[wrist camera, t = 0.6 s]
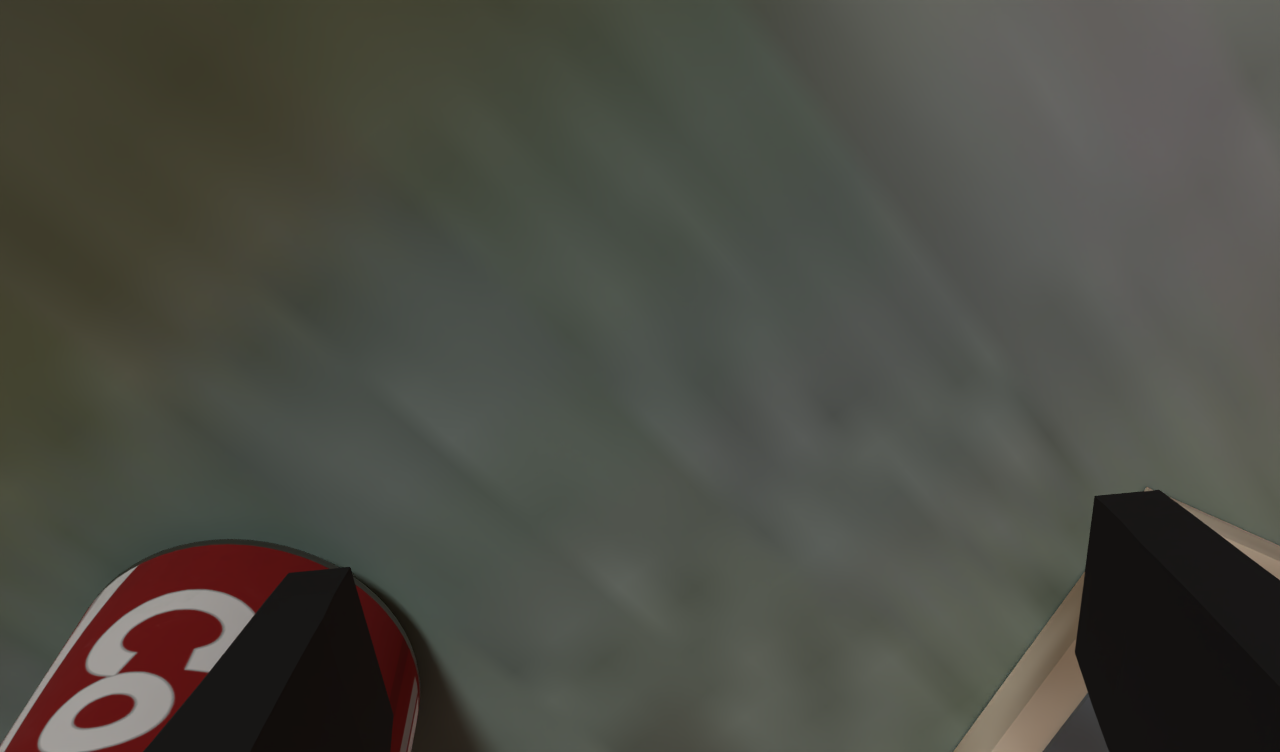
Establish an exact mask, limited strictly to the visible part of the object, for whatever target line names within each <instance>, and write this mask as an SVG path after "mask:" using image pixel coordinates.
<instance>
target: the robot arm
mask: <svg viewBox="0 0 1280 752" xmlns="http://www.w3.org/2000/svg"><path fill="white" fill-rule="evenodd" d="M1075 655H1076V658H1077V661H1078V664H1079V667H1080V670H1081V673H1082V676H1083V679H1084V682H1085V685H1086V688H1087V691H1088V694H1089V697H1090V700H1091V703H1092V706H1093V709H1094V712H1095V714H1096V717H1097V720H1098V723H1099V726H1100V728H1101V731H1102V734H1103V737H1104V739H1105V742H1106V745H1107V748H1108V750H1109V752H1280V580H1279V579H1278V578H1276V577H1275V576H1274V575H1272V574H1271V573H1270V572H1268V571H1267V570H1266V569H1264V568H1263V567H1262V566H1260V565H1259V564H1258V563H1256V562H1255V561H1254V560H1252V559H1251V558H1250V557H1248V556H1247V555H1246V554H1244V553H1243V552H1242V551H1240V550H1239V549H1238V548H1236V547H1235V546H1234V545H1232V544H1231V543H1230V542H1229V541H1227V540H1226V539H1225V538H1223V537H1222V536H1221V535H1219V534H1218V533H1217V532H1215V531H1214V530H1213V529H1211V528H1210V527H1209V526H1207V525H1206V524H1205V523H1203V522H1202V521H1201V520H1200V519H1198V518H1197V517H1196V516H1194V515H1193V514H1192V513H1190V512H1189V511H1188V510H1186V509H1185V508H1183V507H1182V506H1181V505H1179V504H1178V503H1177V502H1175V501H1174V500H1173V499H1171V498H1170V497H1168V496H1167V495H1166V494H1164V493H1163V492H1161V491H1160V490H1153V491H1143V492H1132V493H1122V494H1111V495H1101V496H1095V498H1094V506H1093V514H1092V521H1091V529H1090V537H1089V545H1088V552H1087V560H1086V568H1085V576H1084V584H1083V591H1082V599H1081V607H1080V615H1079V622H1078V630H1077V638H1076V646H1075ZM393 716H394V715H393V711H392V708H391V704H390V701H389V698H388V694H387V691H386V687H385V684H384V681H383V677H382V674H381V670H380V667H379V663H378V660H377V657H376V653H375V650H374V646H373V643H372V640H371V636H370V633H369V629H368V626H367V623H366V619H365V616H364V612H363V609H362V606H361V602H360V599H359V595H358V592H357V589H356V585H355V582H354V578H353V575H352V572H351V568H350V567H345V568H334V569H323V570H313V571H302V572H292V573H288V574H287V575H286V577H285V578H284V579H283V580H282V581H281V582H280V584H279V585H278V586H277V587H276V588H275V590H274V591H273V592H272V593H271V595H270V596H269V597H268V598H267V599H266V601H265V602H264V603H263V604H262V606H261V607H260V608H259V609H258V611H257V612H256V613H255V615H254V616H253V617H252V618H251V620H250V621H249V622H248V623H247V625H246V626H245V627H244V629H243V630H242V631H241V632H240V634H239V635H238V636H237V637H236V639H235V640H234V641H233V642H232V644H231V645H230V646H229V648H228V649H227V650H226V651H225V653H224V654H223V655H222V656H221V658H220V659H219V660H218V661H217V663H216V664H215V665H214V666H213V668H212V669H211V670H210V671H209V673H208V674H207V675H206V676H205V678H204V679H203V680H202V681H201V683H200V684H199V685H198V686H197V688H196V689H195V690H194V691H193V692H192V694H191V695H190V696H189V697H188V698H187V700H186V701H185V702H184V703H183V704H182V706H181V707H180V708H179V709H178V710H177V712H176V713H175V714H174V715H173V716H172V718H171V719H170V720H169V721H168V722H167V724H166V725H165V726H164V727H163V728H162V730H161V731H160V732H159V733H158V734H157V736H156V737H155V738H154V739H153V740H152V742H151V743H150V744H149V745H148V746H147V747H146V749H145V750H144V751H143V752H390V751H391V740H392V728H393Z"/></svg>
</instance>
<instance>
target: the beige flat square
mask: <svg viewBox="0 0 1280 752" xmlns="http://www.w3.org/2000/svg"><path fill="white" fill-rule="evenodd" d="M1144 491H1153V490H1152V489H1150V488H1148V487H1146V489H1145V490H1144ZM1171 499H1173V498H1171ZM1173 500H1174V501H1175V502H1177V503H1178V504H1179V505H1181V506H1182V507H1183V508H1185V509H1186V510H1188V511H1189V512H1190V513H1192V514H1193V515H1194V516H1196V517H1197V518H1198V519H1200V520H1201V521H1202V522H1203V523H1205V524H1206V525H1207V526H1209V527H1210V528H1211V529H1213V530H1214V531H1215V532H1217V533H1218V534H1219V535H1221V536H1222V537H1223V538H1225V539H1226V540H1227V541H1229V542H1230V543H1231V544H1232V545H1234V546H1235V547H1236V548H1238V549H1239V550H1240V551H1242V552H1243V553H1244V554H1246V555H1247V556H1248V557H1250V558H1251V559H1252V560H1254V561H1255V562H1256V563H1258V564H1259V565H1260V566H1262V567H1263V568H1264V569H1266V570H1267V571H1268V572H1270V573H1271V574H1272V575H1274V576H1275V577H1276V578H1278V579H1279V580H1280V546H1279V545H1277V544H1274V543H1272V542H1270V541H1268V540H1265V539H1263V538H1261V537H1259V536H1256V535H1254V534H1252V533H1250V532H1247V531H1245V530H1243V529H1241V528H1238V527H1236V526H1234V525H1231V524H1229V523H1227V522H1225V521H1222V520H1220V519H1218V518H1216V517H1213V516H1211V515H1209V514H1207V513H1204V512H1202V511H1200V510H1198V509H1195V508H1193V507H1191V506H1189V505H1186V504H1184V503H1182V502H1179V501H1177V500H1175V499H1173ZM1084 576H1085V572H1084V573H1083V575H1082V576H1081V578H1080V579H1079V580H1078V582H1077V583H1076V584H1075V586H1074V587H1073V588H1072V590H1071V591H1070V593H1069V594H1068V595H1067V597H1066V598H1065V599H1064V601H1063V602H1062V604H1061V605H1060V606H1059V608H1058V609H1057V610H1056V612H1055V613H1054V615H1053V616H1052V617H1051V619H1050V620H1049V621H1048V623H1047V624H1046V625H1045V627H1044V628H1043V630H1042V631H1041V632H1040V634H1039V635H1038V636H1037V638H1036V639H1035V641H1034V642H1033V643H1032V645H1031V646H1030V647H1029V649H1028V650H1027V651H1026V653H1025V654H1024V656H1023V657H1022V658H1021V660H1020V661H1019V662H1018V664H1017V665H1016V667H1015V668H1014V669H1013V671H1012V672H1011V673H1010V675H1009V676H1008V677H1007V679H1006V680H1005V682H1004V683H1003V684H1002V686H1001V687H1000V688H999V690H998V691H997V693H996V694H995V695H994V697H993V698H992V699H991V701H990V702H989V704H988V705H987V706H986V708H985V709H984V710H983V712H982V713H981V714H980V716H979V717H978V719H977V720H976V721H975V723H974V724H973V725H972V727H971V728H970V730H969V731H968V732H967V734H966V735H965V736H964V738H963V739H962V740H961V742H960V743H959V745H958V746H957V747H956V749H955V750H954V751H953V752H1109V750H1108V748H1107V745H1106V742H1105V739H1104V737H1103V734H1102V731H1101V728H1100V726H1099V723H1098V720H1097V717H1096V714H1095V712H1094V709H1093V706H1092V703H1091V700H1090V697H1089V694H1088V691H1087V688H1086V685H1085V682H1084V679H1083V676H1082V673H1081V670H1080V667H1079V664H1078V661H1077V658H1076V655H1075V646H1076V638H1077V630H1078V622H1079V615H1080V607H1081V599H1082V591H1083V584H1084Z"/></svg>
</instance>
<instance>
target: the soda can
mask: <svg viewBox="0 0 1280 752" xmlns="http://www.w3.org/2000/svg"><path fill="white" fill-rule="evenodd" d="M334 568H339V567H337V566H335V565H334V564H331V563H329V562H327V561H325V560H323V559H321V558H319V557H317V556H314V555H311V554H309V553H306V552H304V551H301V550H297V549H294V548H291V547H287V546H283V545H278V544H274V543H269V542H262V541H254V540H241V539H220V540H208V541H199V542H194V543H189V544H184V545H179V546H176V547H173V548H170V549H166V550H163V551H161V552H159V553H156V554H154V555H151V556H149V557H147V558H145V559H143V560H141V561H139V562H138V563H136V564H134V565H132V566H131V567H130V568H128V569H127V570H125V571H124V572H122V573H121V574H119V575H118V576H117V577H116V578H115V579H113V580H112V581H111V582H110V583H109V584H108V585H107V586H106V587H105V588H104V589H103V590H102V591H101V592H100V593H99V594H98V596H97V597H96V599H95V600H94V601H93V603H92V604H91V605H90V607H89V608H88V610H87V611H86V613H85V614H84V616H83V617H82V619H81V621H80V622H79V624H78V625H77V627H76V628H75V630H74V631H73V633H72V635H71V636H70V638H69V639H68V641H67V642H66V644H65V645H64V647H63V649H62V650H61V652H60V653H59V655H58V656H57V658H56V659H55V661H54V663H53V664H52V666H51V667H50V669H49V670H48V672H47V673H46V675H45V677H44V678H43V680H42V681H41V683H40V684H39V686H38V687H37V689H36V691H35V692H34V694H33V695H32V697H31V698H30V700H29V701H28V703H27V705H26V706H25V708H24V709H23V711H22V712H21V714H20V715H19V717H18V719H17V720H16V722H15V723H14V725H13V726H12V728H11V729H10V731H9V732H8V734H7V736H6V737H5V739H4V740H3V742H2V743H1V745H0V752H143V751H144V750H145V749H146V747H147V746H148V745H149V744H150V743H151V742H152V740H153V739H154V738H155V737H156V736H157V734H158V733H159V732H160V731H161V730H162V728H163V727H164V726H165V725H166V724H167V722H168V721H169V720H170V719H171V718H172V716H173V715H174V714H175V713H176V712H177V710H178V709H179V708H180V707H181V706H182V704H183V703H184V702H185V701H186V700H187V698H188V697H189V696H190V695H191V694H192V692H193V691H194V690H195V689H196V688H197V686H198V685H199V684H200V683H201V681H202V680H203V679H204V678H205V676H206V675H207V674H208V673H209V671H210V670H211V669H212V668H213V666H214V665H215V664H216V663H217V661H218V660H219V659H220V658H221V656H222V655H223V654H224V653H225V651H226V650H227V649H228V648H229V646H230V645H231V644H232V642H233V641H234V640H235V639H236V637H237V636H238V635H239V634H240V632H241V631H242V630H243V629H244V627H245V626H246V625H247V623H248V622H249V621H250V620H251V618H252V617H253V616H254V615H255V613H256V612H257V611H258V609H259V608H260V607H261V606H262V604H263V603H264V602H265V601H266V599H267V598H268V597H269V596H270V595H271V593H272V592H273V591H274V590H275V588H276V587H277V586H278V585H279V584H280V582H281V581H282V580H283V579H284V578H285V577H286V575H287V574H288V573H292V572H302V571H313V570H323V569H334ZM353 578H354V582H355V585H356V589H357V592H358V595H359V599H360V602H361V606H362V609H363V612H364V616H365V619H366V623H367V626H368V629H369V633H370V636H371V640H372V643H373V646H374V650H375V653H376V657H377V660H378V663H379V667H380V670H381V674H382V677H383V681H384V684H385V687H386V691H387V694H388V698H389V701H390V704H391V708H392V711H393V715H394V716H393V728H392V740H391V751H390V752H411V750H412V745H413V739H414V734H415V729H416V723H417V718H418V712H419V705H420V687H421V685H420V676H419V670H418V666H417V661H416V657H415V654H414V652H413V649H412V646H411V643H410V641H409V639H408V637H407V635H406V633H405V631H404V629H403V628H402V626H401V625H400V623H399V622H398V620H397V618H396V617H395V616H394V615H393V613H392V612H391V611H390V609H389V608H388V607H387V606H386V605H385V604H384V603H383V602H382V600H381V599H380V598H379V597H378V596H377V595H376V594H375V593H373V592H372V591H371V590H370V589H369V588H368V587H367V586H365V585H364V584H363V583H362V582H360V581H359V580H357V579H356V578H355V577H353Z"/></svg>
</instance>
